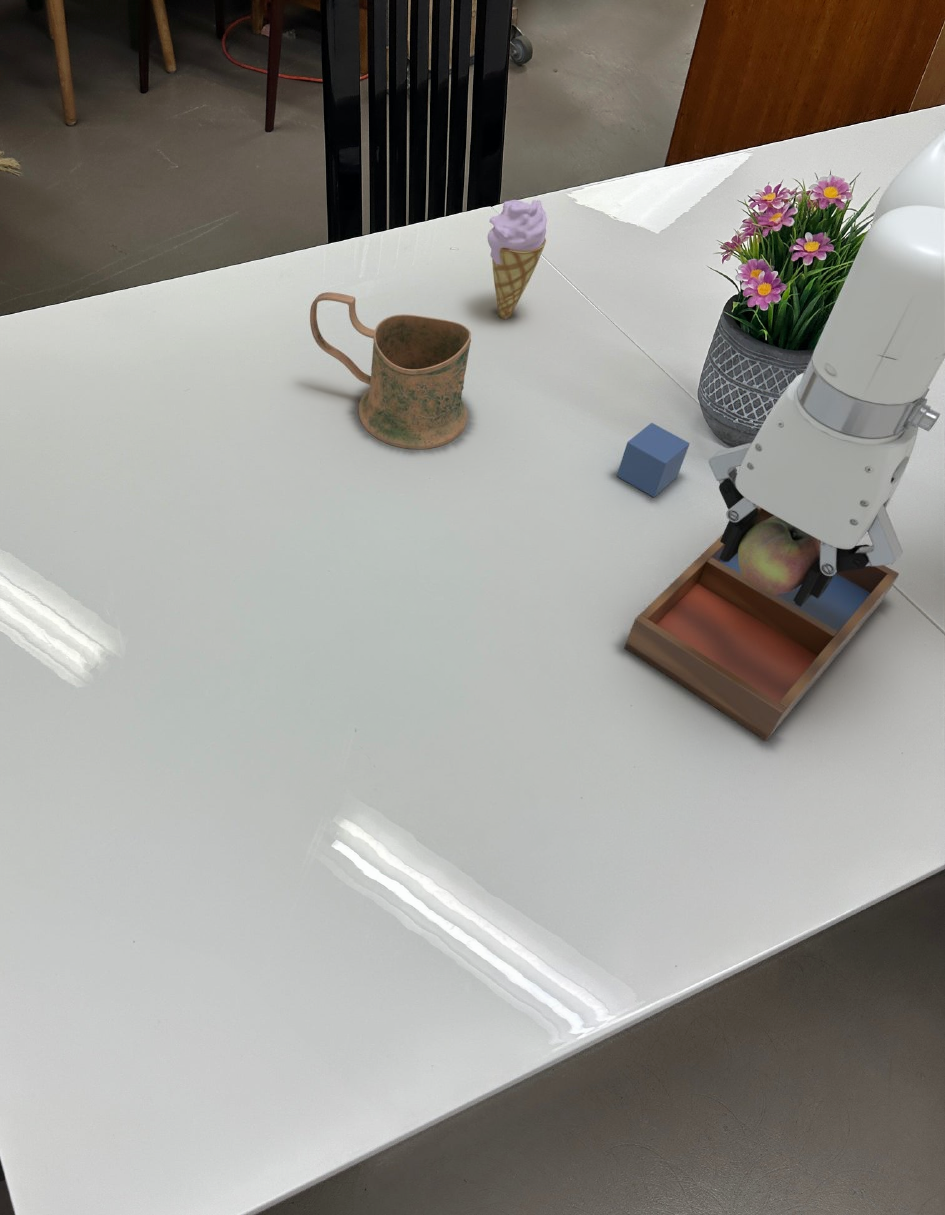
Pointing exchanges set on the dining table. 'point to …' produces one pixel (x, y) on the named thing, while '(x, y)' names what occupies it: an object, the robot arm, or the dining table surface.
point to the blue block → (652, 459)
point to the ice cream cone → (515, 250)
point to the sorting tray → (751, 635)
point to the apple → (777, 555)
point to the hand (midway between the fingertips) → (768, 572)
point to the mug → (408, 376)
